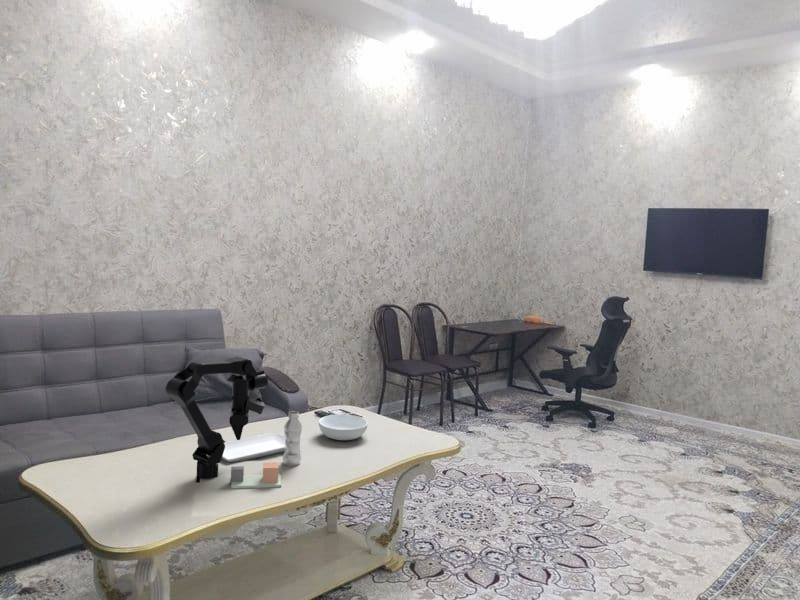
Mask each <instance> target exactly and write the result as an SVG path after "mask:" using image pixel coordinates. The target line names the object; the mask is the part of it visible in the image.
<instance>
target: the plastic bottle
mask: <svg viewBox="0 0 800 600" xmlns="http://www.w3.org/2000/svg"><path fill="white" fill-rule="evenodd" d="M287 418H288V420H287V421H286V422H285V424H284V426H283V430H284V436H285V450H284V453H283V456H282V463H283V465H284V466H288V467H295V466H299V465H300V464H301V461H302V454H301V444H300V443H301V435H302V430H303V426H302V422H301V421H300V420H299V418H300V413H299V411H295V410H292V411H289V412H288V417H287Z"/></svg>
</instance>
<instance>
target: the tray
mask: <svg viewBox="0 0 800 600" xmlns="http://www.w3.org/2000/svg"><path fill="white" fill-rule="evenodd" d="M224 444H225V449H224V453H223V456H222V459H223V460H225V461H226V462H227V463H233V462H245V461H248V460H252V459H253V460H254V459H257V458H260V457H265V456H270V455H274V454H279V453H283V452H284V450H285V434H282V433H280V432H271V433H270V432H269V433H265V434H260V435H254V436H250V437H245V438H240V440H237V439H236V440H229V441H225V443H224Z"/></svg>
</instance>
